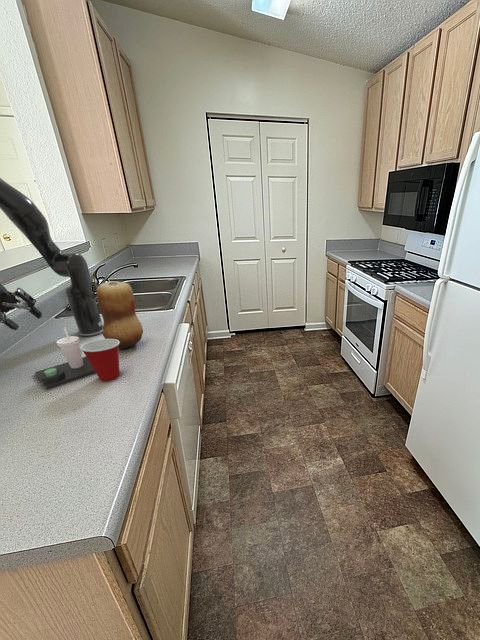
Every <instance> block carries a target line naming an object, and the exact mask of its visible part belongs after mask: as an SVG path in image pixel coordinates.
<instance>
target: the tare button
mask: <svg viewBox="0 0 480 640" xmlns="http://www.w3.org/2000/svg"><path fill="white" fill-rule="evenodd" d="M44 373H45V375H46V377H50V376H54V375H56V374H58V372H57V369H56V368H51V369H48V370H46V371H45V372H44Z"/></svg>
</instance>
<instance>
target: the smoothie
mask: <svg viewBox="0 0 480 640" xmlns="http://www.w3.org/2000/svg"><path fill="white" fill-rule="evenodd" d="M63 330H64V333H65V336H64V337H63V338H59V339H58V340H57V341H56V346H58V347H59V349H60V351H61V352H62V354H63V356H64V358H65V360H66V362H68V363H69V365H70V367H71V368H79V367H82V366H83V359H82V358H83V355H82V350H81V349H80V346H81V345H80V341H81V340H80V337H78V336H77V335H76V336H75V335H71V336H70V335H69V333H68V330H67V327H65V326H64V327H63Z"/></svg>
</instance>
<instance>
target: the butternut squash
mask: <svg viewBox="0 0 480 640" xmlns="http://www.w3.org/2000/svg"><path fill="white" fill-rule="evenodd" d="M96 298H97V304H98V305H97V307H98V310H99V312H100V315H101V316H102V319H103V332H102V336H103V339H116V340H119V342H120V343H119V346H118V347H119V348H118V350H125V349H127V348H133V347H135V346H136V344H138V343H139V342H140V341H141V340H142V338H143V334H144V328H143V324H142V323H141V321H140V319H139V318H138V316H137V313H136V300H135V295H134V291H133V288H132V287H131V285H130V284H129V283H127V282H124V281H111V280H109V281H105V282H102V283H100V284H99V285H98V286H97V288H96Z"/></svg>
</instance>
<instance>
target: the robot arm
mask: <svg viewBox="0 0 480 640" xmlns="http://www.w3.org/2000/svg"><path fill="white" fill-rule="evenodd" d="M0 210H1V211H2V212H3V213H4V215H5V216H6V217H7V219H8V220H10V222H11V223H12V224H13V225H14V226H15V227H16V228H17V229H18V230H19V231H20V232H21V233H22V234H23V235H24V237H25V238H26V239H27V241H29V242H30V243H31V245H32V246H33V247H34V248H35V249H36V250H37V252H38V253H39V255H41V257H42V258H43V260H44V261H45V263H47V265H48V267H50V269H51V270H52V271H53V272H54V273H55V274H56V275H58V276H60V277H64V278H69V279H70V285H67V286H66V287H65V288H64V292H65V295H66V298H67V302H68V303H69V304H68V305H67V304H66V305H67V306H66V305H65V308H66V309H67V310H70V311H71V313H72V315H73V318H74V321H75V324H76V327H77V331H78V334H79V336H80V337H92V336H97V335H101V334H103V326H104V323H103V321H102V318H101V313H100V310H99V307H98V305H97V304H98V303H97V301H96V299H95V298H96V297H95V295H94V292H93V287H92V286H93V282H92V278H91V277H92V276H91V273H90V269H89V266H88V263H87V260H86V259H85V257H84V256H83V255H82V254H80V253H77V252H64V251H62V249H60V248H59V246H58V245H57V244H56V243H55V242H54V240H53V238H52V236H51V232H50V227H49V223H48V221H47V218H46V217H45V215H44V214H43V213H42V211H41V210H40V209H39V208H38V206H37V205H36V204H35V203H34V201H32V200H31V199H30V198H29V197H28V196H27V195H25V194H24V193H22V192H21V191H20V190H18V189H17V188H15V187H14V186H12V185H11V184H9V183H8V182H6V181H5V179H2V178H1V177H0ZM36 303H37V299H35V297H33V296H32V295H30V294H29V293H27V292H26V291H25V290H24V289H23V288H21V287H17V288H16V289H15V290H14V291H13V292H11V291H9V290H8V289H7V288H6V287H5V286H4V285H3V284H2V283H0V324H4V325H5V326H6V327H8V328H9V329H10V330H14V331H17V330H19V326H20V325H19V324H17V323H16V322H15V321H14V320H12V319H11V318H9V317H7V313H9V312H10V311H14V310H15V309H19V310H21V309H22V310H27V311H28V312H29V313H30V314H32V315H33V316H34V317H35V318H36V319H38V320H39V319H41V318H42V317H43V313H42V312H41V310H39V309H38V308H37V307H36V306H35V305H36Z"/></svg>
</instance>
